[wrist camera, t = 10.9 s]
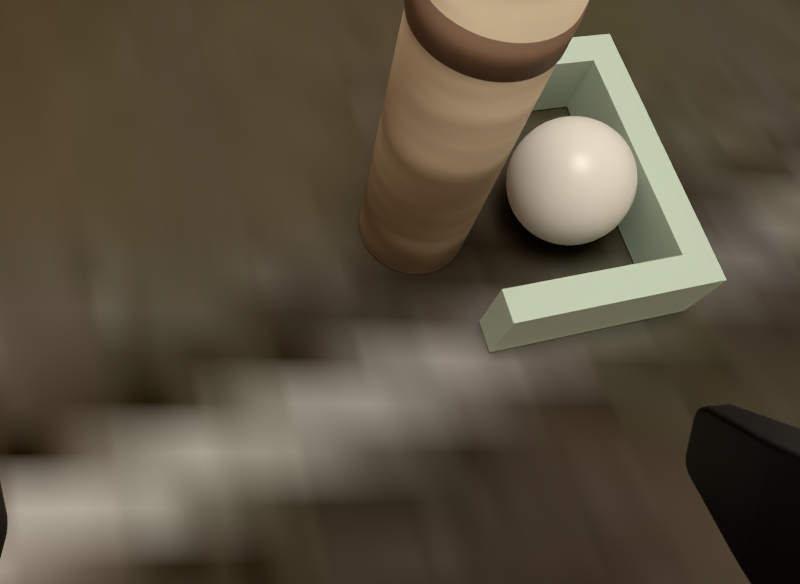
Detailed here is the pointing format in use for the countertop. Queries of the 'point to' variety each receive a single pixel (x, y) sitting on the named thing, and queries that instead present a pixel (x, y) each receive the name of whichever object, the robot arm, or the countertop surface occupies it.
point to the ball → (571, 180)
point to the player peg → (454, 119)
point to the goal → (641, 227)
